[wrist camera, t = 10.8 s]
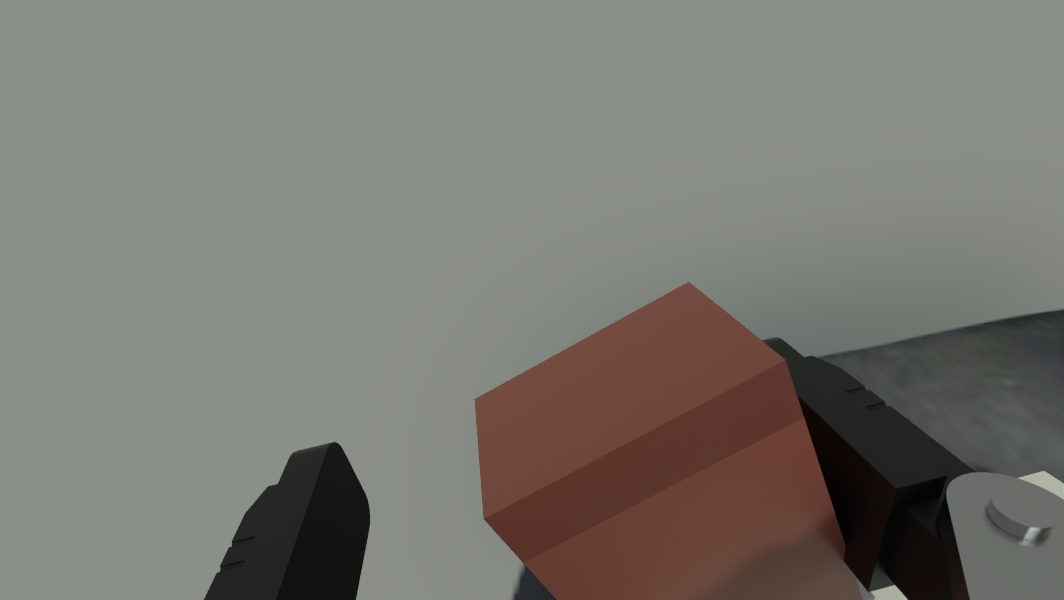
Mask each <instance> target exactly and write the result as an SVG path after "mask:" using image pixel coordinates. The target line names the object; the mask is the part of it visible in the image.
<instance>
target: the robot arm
mask: <svg viewBox="0 0 1064 600" xmlns="http://www.w3.org/2000/svg"><path fill="white" fill-rule="evenodd" d="M762 341H763V342H764V343H765V344H767V345H768V346H769V347H770V348H771V349H773V350H774V351H775V352H776V353H778V354H779V355H780V356H781V357H783V358H784V359H785V360H786V363H787V366H788V369H789V372H790V375H791V378H792V381H793V384H794V388H795V391H796V394H797V397H798V400H799V403H800V406H801V409H802V412H803V416H804V419H805V422H806V425H807V428H808V431H809V434H810V437H811V440H812V443H813V447H814V450H815V453H816V456H817V459H818V462H819V465H820V468H821V471H822V474H823V478H824V481H825V484H826V487H827V490H828V493H829V496H830V499H831V502H832V506H833V509H834V512H835V515H836V518H837V521H838V524H839V527H840V530H841V533H842V537H843V540H844V543H845V546H846V549H845V555H844V562H845V564H846V565H847V566H848V567H849V569H850V570H851V571H852V572H853V574H854V575H855V576H856V578H857V579H858V580H859V581H860V583H861V584H862V585H863V586H864V588H865V589H866V590H867V591H868V592H871V591H875V590H878V589H882V588H886V587H889V586H893V585H896V587H897V588H898V589H899V590H900V591H901V592H902V594H903V595H904V596H905V597H906V598H907V599H908V600H1064V499H1062V498H1060V497H1059V496H1057V495H1055V494H1054V493H1052V492H1050V491H1048V490H1046V489H1044V488H1042V487H1040V486H1037V485H1035V484H1033V483H1030V482H1028V481H1025V480H1021V479H1018V478H1015V477H1011V476H1007V475H1003V474H996V473H987V472H976V471H974V470H973V469H971V468H970V467H968V466H967V465H966V464H965V463H963V462H962V461H961V460H959V459H958V458H957V457H956V456H954V455H953V454H952V453H950V452H949V451H948V450H946V449H945V448H944V447H943V446H941V445H940V444H939V443H937V442H936V441H935V440H934V439H932V438H931V437H930V436H928V435H927V434H926V433H924V432H923V431H922V430H921V429H919V428H918V427H917V426H915V425H914V424H913V423H911V422H910V421H909V420H908V419H906V418H905V417H904V416H902V415H901V414H900V413H899V412H897V411H896V410H895V409H893V408H892V407H891V406H886V405H885V402H884V401H883V400H882V399H880V398H879V397H878V396H876V395H875V394H874V393H873V392H871V391H870V390H868V391H867V390H866V389H865V386H864V385H862V384H861V383H860V382H858V381H857V380H856V379H854V378H853V377H852V376H851V375H849V374H848V373H847V372H845V371H844V370H843V369H841V368H839V367H837V366H835V365H832V364H830V363H828V362H825V361H823V360H821V359H818V358H816V357H814V356H808V357H803V356H802V355H801V354H799V353H798V352H797V351H796V350H795V349H793V348H792V347H791V346H790V345H789V344H787V343H786V342H785V341H783V340H782V339H780V338H771V339H766V340H762ZM369 527H370V511H369V504H368V500H367V497H366V494H365V492H364V490H363V488H362V486H361V484H360V482H359V480H358V479H357V476H356V474H355V473H354V471H353V468H352V466H351V464H350V462H349V460H348V458H347V456H346V455H345V453H344V451H343V449H342V447H341V446H340V445H339V444H338V443H336V442H333V443H328V444H324V445H320V446H316V447H312V448H308V449H303V450H299V451H296V452H294V453H292V455H291V456H290V458H289V460H288V462H287V465H286V466H285V469H284V471H283V473H282V476H281V478H280V481H279V483H278V484H276V485H272V486H268V487H267V488H266V490H265V491H264V492H263V493H262V494H261V495H260V497H259V498H258V499H257V500H256V501H255V502H254V504H253V505H252V506H251V507H250V508H249V510H248V511H247V512H246V513H245V515H244V517H243V519H242V521H241V523H240V525H239V527H238V530H237V532H236V534H235V536H234V538H233V540H232V547H229V548H228V551H227V553H226V555H225V557H224V559H223V561H222V563H221V565H220V568H221V570H220V572H218V573H217V574H216V576H215V578H214V580H213V582H212V584H211V586H210V588H209V590H208V592H207V594H206V597H205V599H204V600H356V595H357V590H358V585H359V580H360V574H361V570H362V565H363V559H364V554H365V549H366V544H367V538H368V533H369Z"/></svg>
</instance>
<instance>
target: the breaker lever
mask: <svg viewBox="0 0 1064 600" xmlns="http://www.w3.org/2000/svg"><path fill="white" fill-rule="evenodd" d="M475 408H476V422H477V435H478V448H479V462H480V474H481V488H482V500H483V501H482V502H483V515H484V520H485V521H486V522H487V523H488V524H489V525H490V526H491V527H492V529H493V530H494V531H495V532H496V533H497V534H498V535H499V536H500V537H501V539H502V540H503V541H504V542H505V543H506V544H507V545H508V546H509V547H510V549H511V550H512V551H513V552H514V553H515V554H516V555H517V556H518V557H519V559H520V560H521V561H522V562H523V563H524V564H525V565H526V566H527V567H528V569H529V570H530V571H531V572H532V573H533V574H534V575H535V576H536V577H537V579H538V580H539V581H540V582H541V583H542V584H543V585H544V586H545V587H546V589H547V590H548V591H549V592H550V593H551V594H552V595H553V596H554V597H555V599H556V600H863V599H862V596H861V592H860V589H859V586H858V583H857V580H856V577H855V575H854V574H853V572H852V571H851V570H850V569H849V567H848V566H847V565H846V564H845V562H844V555H845V549H846V546H845V543H844V540H843V537H842V533H841V530H840V527H839V524H838V521H837V518H836V515H835V512H834V509H833V506H832V502H831V499H830V496H829V493H828V490H827V487H826V484H825V481H824V478H823V474H822V471H821V468H820V465H819V462H818V459H817V456H816V453H815V450H814V447H813V443H812V440H811V437H810V434H809V431H808V428H807V425H806V422H805V419H804V416H803V412H802V409H801V406H800V403H799V400H798V397H797V394H796V391H795V388H794V384H793V381H792V378H791V375H790V372H789V369H788V366H787V363H786V360H785V359H784V358H783V357H781V356H780V355H779V354H778V353H776V352H775V351H774V350H773V349H771V348H770V347H769V346H768V345H767V344H765V343H764V342H763V341H762V340H760V339H759V338H758V337H756V336H755V335H754V334H753V333H752V332H750V331H749V330H748V329H746V328H745V327H744V326H743V325H741V324H740V323H739V322H738V321H737V320H735V319H734V318H733V317H732V316H730V315H729V314H728V313H727V312H725V311H724V310H723V309H722V308H721V307H719V306H718V305H717V304H715V303H714V302H713V301H712V300H711V299H709V298H708V297H707V296H706V295H704V294H703V293H702V292H701V291H699V290H698V289H697V288H695V287H694V286H693V285H692V284H691V283H689V282H688V283H686V284H684V285H682V286H680V287H679V288H677V289H675V290H673V291H671V292H669V293H668V294H666V295H664V296H662V297H660V298H658V299H657V300H655V301H653V302H651V303H649V304H648V305H646V306H644V307H642V308H640V309H638V310H637V311H635V312H633V313H631V314H630V315H628V316H626V317H624V318H622V319H620V320H618V321H617V322H615V323H613V324H611V325H609V326H607V327H606V328H604V329H602V330H600V331H598V332H596V333H595V334H593V335H591V336H589V337H587V338H586V339H584V340H582V341H580V342H578V343H577V344H575V345H573V346H571V347H569V348H567V349H566V350H564V351H562V352H560V353H558V354H556V355H555V356H553V357H551V358H549V359H547V360H545V361H544V362H542V363H540V364H538V365H537V366H535V367H533V368H531V369H529V370H527V371H526V372H524V373H522V374H520V375H518V376H516V377H515V378H513V379H511V380H509V381H507V382H505V383H504V384H502V385H500V386H498V387H496V388H494V389H493V390H491V391H489V392H487V393H485V394H483V395H482V396H480V397H478V398H476V399H475Z"/></svg>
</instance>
